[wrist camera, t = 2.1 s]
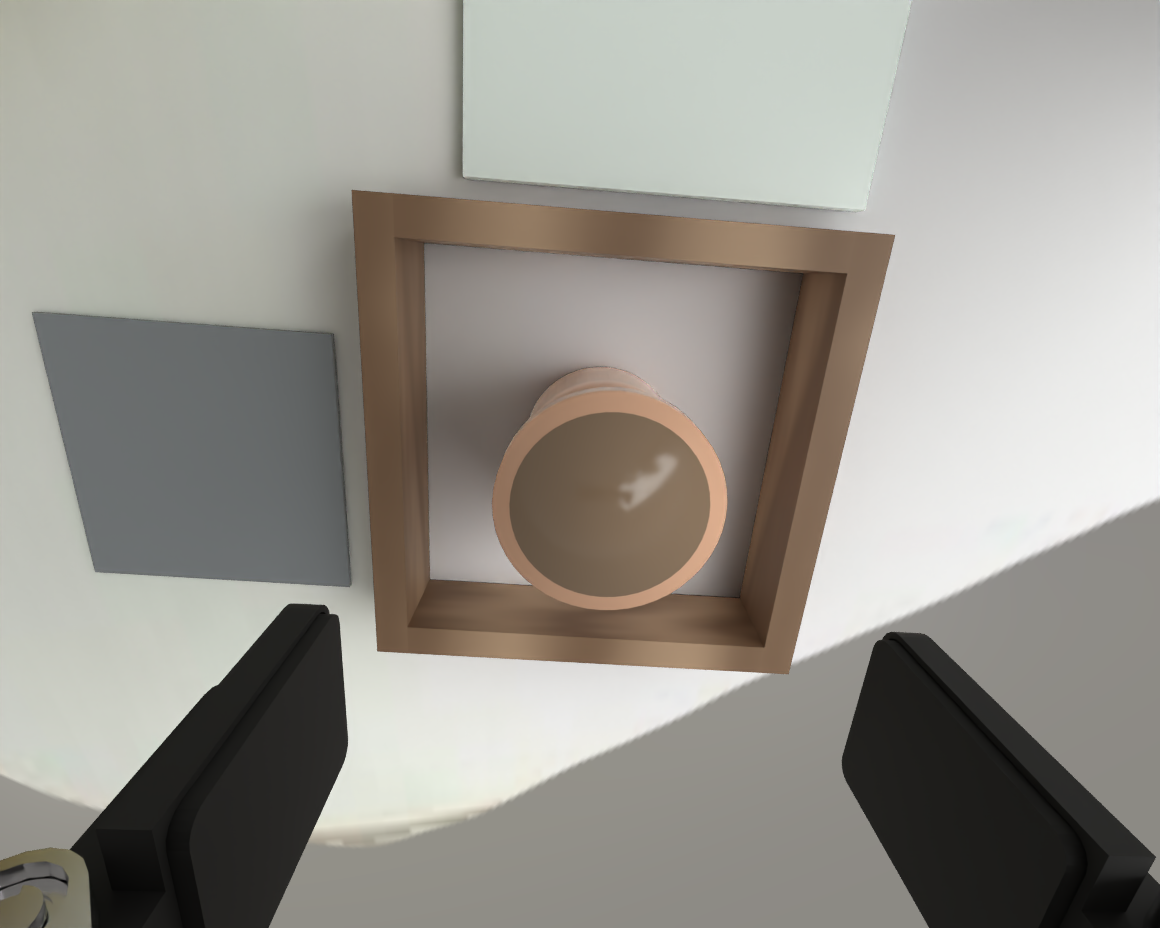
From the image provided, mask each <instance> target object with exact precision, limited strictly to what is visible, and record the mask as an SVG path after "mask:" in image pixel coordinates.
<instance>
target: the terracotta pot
mask: <svg viewBox="0 0 1160 928" xmlns="http://www.w3.org/2000/svg"><path fill="white" fill-rule="evenodd" d="M492 510H493V520H494V525H495V530H496V533H497V536H498V539H499V542H500V544H501V546H502V548H503V550H504V552H505V554H506V556H507V557H508V559H509V560H510V562H511V563H512V565H513V566H514V567H515V569H516V570H517V571H518V572H519V573H520V574H521V575H522V576H523V577H524V578H525V579H526V580H527V581H528V582H530V583H531V584H532V585H533V586H534V587H536V588H537V589H539V590H540V591H542V592H543V593H545V594H547V595H549V596H551V597H553V598H555V599H557V600H559V601H561V602H564V603H567V604H570V605H573V606H577V607H582V608H586V609H595V610H619V609H628V608H633V607H637V606H642V605H645V604H648V603H650V602H653V601H656V600H658V599H660V598H662V597H664V596H667V595H669V594H670V593H672V592H673V591H675V590H677V589H678V588H680V587H681V586H682V585H684V584H685V583H686V582H687V581H689V580H690V579H691V578H692V577H693V576H694V575H695V574H696V573H697V572H698V571H699V570H700V569H701V568H702V567H703V565H704V564H705V563H706V561H707V560H708V559H709V557H710V556H711V554H712V552H713V550H714V549H715V547H716V545H717V543H718V541H719V538H720V536H721V533H722V531H723V527H724V523H725V519H726V511H727V487H726V482H725V476H724V473H723V470H722V467H721V464H720V461H719V459H718V457H717V455H716V453H715V451H714V449H713V447H712V446H711V445H710V443H709V442H708V440H707V439H706V437H705V436H704V435H703V434H702V432H701V431H700V430H699V428H698V427H697V426H696V425H695V424H694V423H693V422H692V421H691V420H690V419H689V418H688V416H686V415H685V414H684V413H683V412H681V411H680V410H679V409H678V408H676V407H675V406H674V405H672V404H670V403H668V402H667V401H665V400H663V399H661V398H660V396H659V395H658V394H657V392H656V391H655V390H654V389H653V388H652V387H651V386H650V385H649V384H647V383H646V382H645V381H644V380H642V379H641V378H639V377H637V376H636V375H634V374H631V373H629V372H627V371H624V370H620V369H616V368H610V367H591V368H585V369H581V370H577V371H574V372H572V373H569V374H567V375H565V376H563V377H562V378H560V379H558V380H557V381H556V382H554V383H553V384H552V385H550V386H549V387H548V388H547V389H546V390H545V391H544V392H543V394H542V395H541V396H540V398H539V399H538V400H537V402H536V404H535V406H534V407H533V410H532V412H531V414H530V417H529V419H528V420H527V421H526V422H525V423H524V424H523V425H522V427H521V428H520V429H519V430H518V432H517V433H516V434H515V436H514V437H513V439H512V441H511V442H510V444H509V446H508V448H507V449H506V452H505V454H504V457H503V459H502V462H501V464H500V467H499V470H498V472H497V475H496V480H495V484H494V488H493V498H492Z"/></svg>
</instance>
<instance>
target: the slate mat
mask: <svg viewBox="0 0 1160 928" xmlns="http://www.w3.org/2000/svg"><path fill="white" fill-rule="evenodd" d="M32 315H33V319H34V323H35V327H36V331H37V335H38V339H39V344H40V348H41V352H42V356H43V360H44V364H45V368H46V372H47V376H48V380H49V385H50V389H51V393H52V397H53V401H54V405H55V409H56V413H57V417H58V421H59V425H60V430H61V434H62V438H63V442H64V446H65V450H66V454H67V458H68V462H69V466H70V471H71V475H72V479H73V483H74V487H75V491H76V495H77V499H78V503H79V507H80V512H81V516H82V520H83V524H84V528H85V532H86V536H87V540H88V544H89V548H90V552H91V557H92V561H93V565H94V569H95V572H104V573H121V574H138V575H155V576H172V577H188V578H205V579H222V580H239V581H256V582H273V583H290V584H307V585H324V586H341V587H350V586H351V573H350V559H349V545H348V531H347V517H346V503H345V489H344V475H343V461H342V447H341V433H340V418H339V404H338V390H337V376H336V362H335V348H334V334H327V333H314V332H300V331H287V330H273V329H260V328H246V327H233V326H219V325H206V324H192V323H179V322H165V321H152V320H138V319H125V318H111V317H98V316H84V315H71V314H57V313H44V312H32Z"/></svg>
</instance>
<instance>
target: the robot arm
mask: <svg viewBox="0 0 1160 928" xmlns="http://www.w3.org/2000/svg"><path fill="white" fill-rule="evenodd" d="M347 747H348V733H347V719H346V705H345V691H344V677H343V664H342V650H341V636H340V623H339V618H338V616H337V615H336V614H329V610H328V608H327V606H325V605H312V604H288V605H287V606H286V607H285V608H284V609H283V610H282V611H281V612H280V614H279V615H278V616H277V617H276V618H275V619H274V621H273V622H272V623H271V624H270V625H269V626H268V628H267V629H266V630H265V631H264V632H263V633H262V635H261V636H260V637H259V638H258V639H257V640H256V642H255V643H254V644H253V645H252V646H251V647H250V649H249V650H248V651H247V652H246V653H245V654H244V656H243V657H242V658H241V659H240V660H239V661H238V663H237V664H236V665H235V666H234V667H233V668H232V670H231V671H230V672H229V673H228V674H227V675H226V677H225V678H224V679H223V680H222V681H221V682H220V684H219V685H217V686H214V687H212V688H211V689H210V690H209V691H208V692H207V693H206V694H205V695H204V696H203V697H202V698H201V699H200V700H199V702H198V703H197V704H196V705H195V706H194V707H193V708H192V710H191V711H190V712H189V713H188V714H187V715H186V717H185V718H184V719H183V720H182V721H181V722H180V723H179V725H178V726H177V727H176V728H175V729H174V730H173V731H172V733H171V734H170V735H169V736H168V737H167V738H166V740H165V741H164V742H163V743H162V744H161V745H160V746H159V748H158V749H157V750H156V751H155V752H154V753H153V754H152V756H151V757H150V758H149V759H148V760H147V761H146V763H145V764H144V765H143V766H142V767H141V768H140V769H139V771H138V772H137V773H136V774H135V775H134V776H133V777H132V779H131V780H130V781H129V782H128V783H127V784H126V786H125V787H124V788H123V789H122V790H121V791H120V792H119V794H118V795H117V796H116V797H115V798H114V799H113V800H112V802H111V803H110V804H109V805H108V806H107V807H106V809H105V810H104V811H103V812H102V813H101V814H100V815H99V817H98V818H97V819H96V820H95V821H94V822H93V824H92V825H91V826H90V827H89V828H88V829H87V831H86V832H85V833H84V834H83V835H82V836H81V837H80V838H79V840H78V841H77V842H76V843H75V844H74V845H73V846H72V848H71V849H70V850H67V849H57V848H45V849H39V850H33V851H27V852H23V853H20V854H18V855H15V856H12V857H9V858H6V859H3V860H1V861H0V928H269V925H270V923H271V921H272V919H273V917H274V914H275V912H276V910H277V908H278V906H279V903H280V901H281V899H282V897H283V895H284V893H285V890H286V888H287V886H288V884H289V882H290V880H291V877H292V875H293V873H294V871H295V868H296V866H297V864H298V862H299V860H300V857H301V855H302V853H303V851H304V849H305V846H306V844H307V842H308V840H309V838H310V836H311V834H312V831H313V829H314V827H315V825H316V823H317V820H318V818H319V816H320V814H321V812H322V809H323V807H324V805H325V803H326V801H327V799H328V796H329V794H330V792H331V790H332V788H333V785H334V783H335V781H336V779H337V777H338V774H339V772H340V770H341V768H342V766H343V763H344V760H345V757H346V753H347ZM842 769H843V774H844V777H845V779H846V782H847V784H848V785H849V787H850V789H851V791H852V792H853V794H854V796H855V798H856V799H857V801H858V803H859V805H860V806H861V808H862V810H863V812H864V814H865V815H866V817H867V819H868V821H869V822H870V824H871V826H872V828H873V829H874V831H875V833H876V835H877V836H878V838H879V840H880V842H881V843H882V845H883V847H884V849H885V851H886V852H887V854H888V856H889V858H890V859H891V861H892V863H893V865H894V866H895V868H896V870H897V871H898V874H899V875H900V877H901V879H902V880H903V882H904V884H905V886H906V887H907V889H908V891H909V893H910V894H911V896H912V898H913V900H914V902H915V904H916V905H917V907H918V909H919V911H920V912H921V914H922V916H923V918H924V919H925V921H926V923H927V925H928V926H929V928H1160V884H1159V883H1158V882H1157V881H1156V880H1155V879H1154V878H1153V877H1152V876H1151V875H1150V874H1149V873H1148V871H1149V869H1150V867H1151V865H1152V864H1153V862H1154V860H1155V858H1156V856H1154V855H1153V854H1152V853H1151V852H1150V851H1149V850H1148V849H1147V848H1146V847H1145V846H1144V845H1143V844H1142V843H1141V842H1140V841H1139V840H1138V839H1137V838H1136V837H1135V836H1134V835H1133V834H1132V833H1131V832H1130V831H1129V830H1128V829H1127V828H1126V827H1124V825H1123V824H1121V823H1120V822H1119V821H1118V820H1117V819H1116V818H1115V817H1114V816H1113V815H1112V814H1111V813H1110V812H1109V811H1108V810H1107V809H1106V808H1105V807H1104V806H1103V805H1102V804H1101V803H1100V802H1099V801H1098V800H1097V799H1095V797H1093V795H1092V794H1091V793H1089V791H1087V790H1086V789H1085V788H1084V787H1083V786H1082V785H1081V784H1080V783H1079V782H1078V781H1077V780H1076V779H1075V778H1074V777H1073V776H1072V775H1071V774H1070V773H1069V772H1068V771H1067V770H1066V769H1065V768H1064V767H1063V766H1062V765H1061V764H1060V763H1059V762H1058V761H1057V760H1056V759H1054V758H1053V757H1052V756H1051V755H1050V754H1049V753H1048V752H1047V751H1046V750H1045V749H1044V748H1043V747H1042V746H1041V745H1040V744H1039V743H1038V742H1037V741H1036V740H1035V739H1034V738H1032V736H1031V735H1030V734H1029V733H1028V732H1027V731H1025V729H1024V728H1023V727H1021V726H1020V725H1019V724H1018V723H1017V722H1016V721H1015V720H1014V719H1013V718H1012V717H1011V716H1010V715H1009V714H1008V713H1007V712H1006V711H1005V710H1004V709H1003V708H1002V707H1001V706H1000V705H999V704H998V703H997V702H996V701H994V699H992V697H991V696H990V695H988V694H987V693H986V692H985V691H984V690H983V689H982V688H981V687H980V686H979V685H978V684H977V683H976V682H975V681H974V680H973V679H972V678H971V677H970V676H969V675H968V674H967V673H966V672H965V671H964V670H963V669H961V667H960V666H959V665H958V664H957V663H956V662H954V661H953V660H952V659H951V658H950V657H949V656H948V655H947V654H946V653H945V652H944V651H943V650H942V649H941V648H940V647H939V646H938V645H937V644H936V643H935V642H934V641H933V640H932V639H931V638H929V637H928V636H927V635H925V634H921V633H903V632H890V633H887V634H886V635H885V636H884V637H883V639H882V640H879V641H877V642H876V643H875V645H874V647H873V651H872V654H871V658H870V661H869V665H868V668H867V672H866V675H865V679H864V682H863V686H862V689H861V693H860V696H859V700H858V704H857V707H856V711H855V714H854V718H853V721H852V725H851V728H850V732H849V735H848V739H847V742H846V746H845V749H844V753H843V756H842Z"/></svg>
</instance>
